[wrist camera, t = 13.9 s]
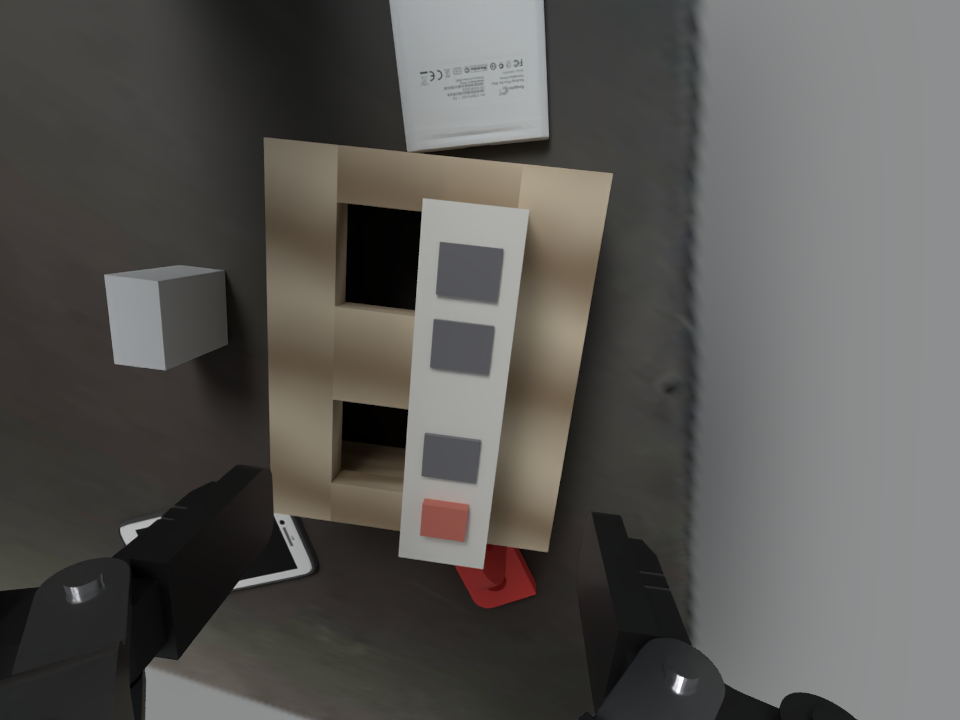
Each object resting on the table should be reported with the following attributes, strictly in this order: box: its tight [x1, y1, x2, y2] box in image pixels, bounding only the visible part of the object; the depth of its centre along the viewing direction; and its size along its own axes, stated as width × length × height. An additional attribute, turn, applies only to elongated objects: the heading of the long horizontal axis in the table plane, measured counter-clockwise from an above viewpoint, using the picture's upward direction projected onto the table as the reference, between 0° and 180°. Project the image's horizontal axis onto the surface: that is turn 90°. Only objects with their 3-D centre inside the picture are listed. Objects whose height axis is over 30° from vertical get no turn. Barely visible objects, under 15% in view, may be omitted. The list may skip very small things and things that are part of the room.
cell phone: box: [116, 510, 318, 591], centre depth 37 cm, size 8×15×1 cm, turn 107°
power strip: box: [398, 198, 529, 569], centre depth 24 cm, size 16×4×9 cm, turn 174°
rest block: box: [104, 265, 228, 370], centre depth 29 cm, size 5×3×6 cm, turn 174°
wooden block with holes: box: [264, 137, 613, 552], centre depth 28 cm, size 20×16×7 cm
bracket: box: [455, 544, 536, 608], centre depth 31 cm, size 12×4×8 cm, turn 25°
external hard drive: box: [389, 0, 549, 153], centre depth 26 cm, size 2×8×12 cm
